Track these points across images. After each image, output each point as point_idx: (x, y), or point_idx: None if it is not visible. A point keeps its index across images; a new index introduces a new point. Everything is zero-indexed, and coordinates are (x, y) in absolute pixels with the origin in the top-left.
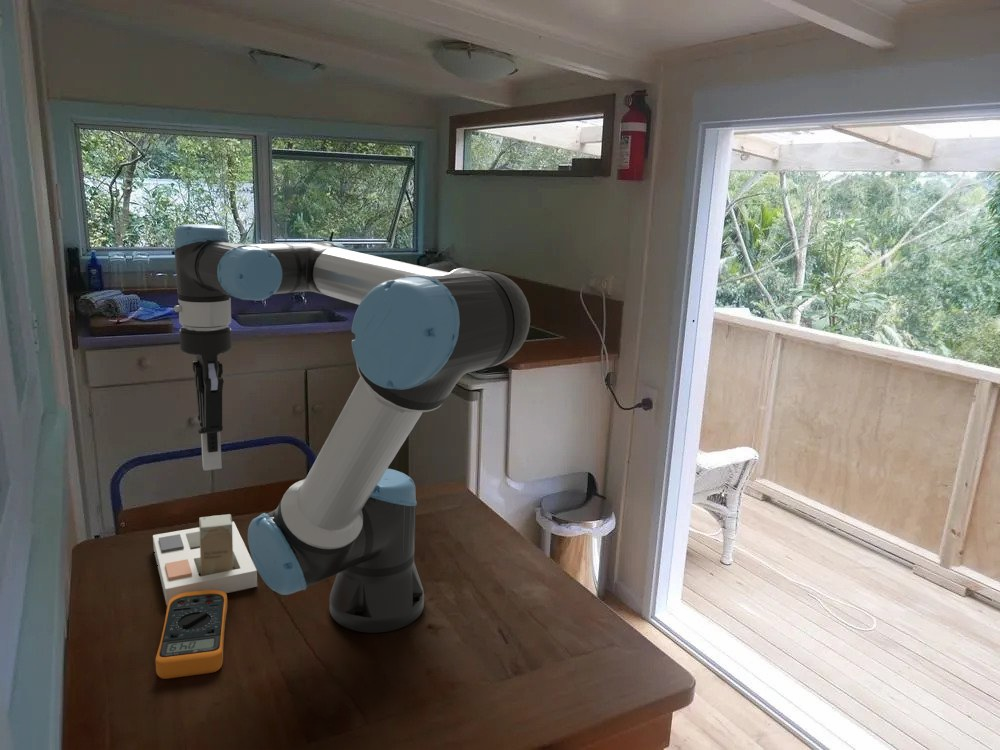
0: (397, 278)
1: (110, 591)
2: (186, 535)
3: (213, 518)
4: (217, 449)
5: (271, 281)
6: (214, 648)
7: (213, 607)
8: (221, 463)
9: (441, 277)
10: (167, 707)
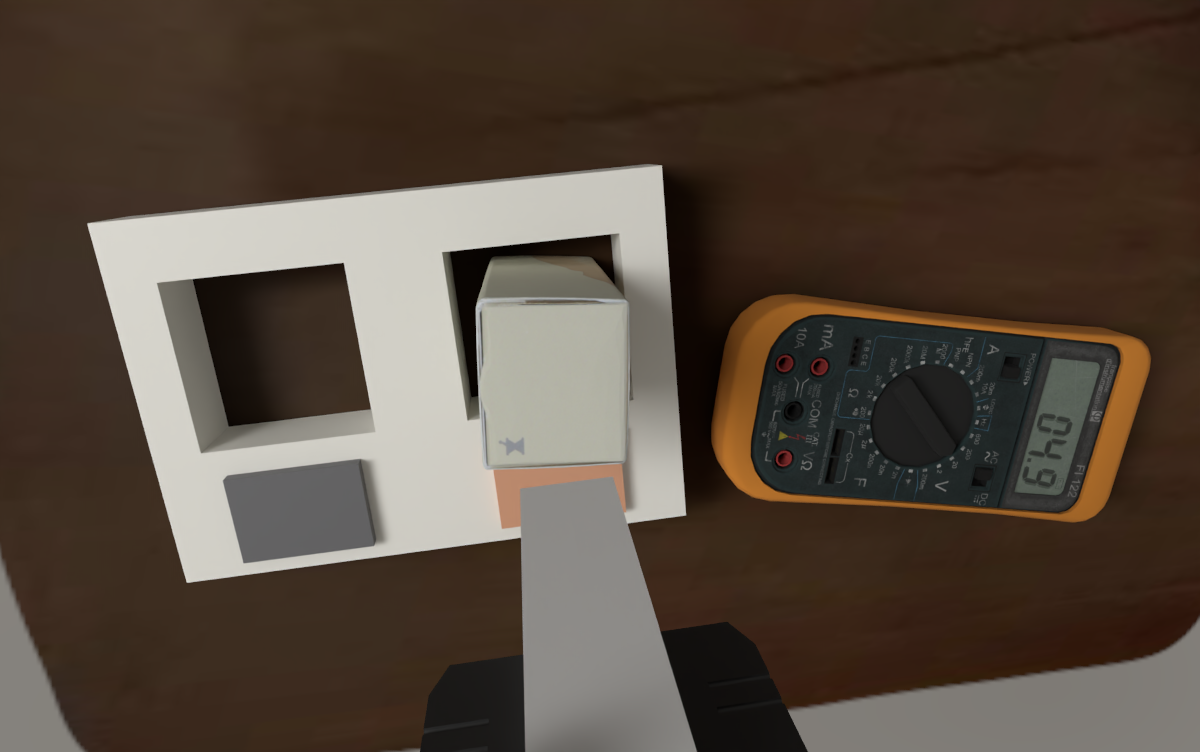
0: None
1: (510, 654)
2: (203, 446)
3: (527, 398)
4: (747, 643)
5: None
6: (1112, 360)
7: (868, 353)
8: (618, 499)
9: None
10: (1178, 466)
